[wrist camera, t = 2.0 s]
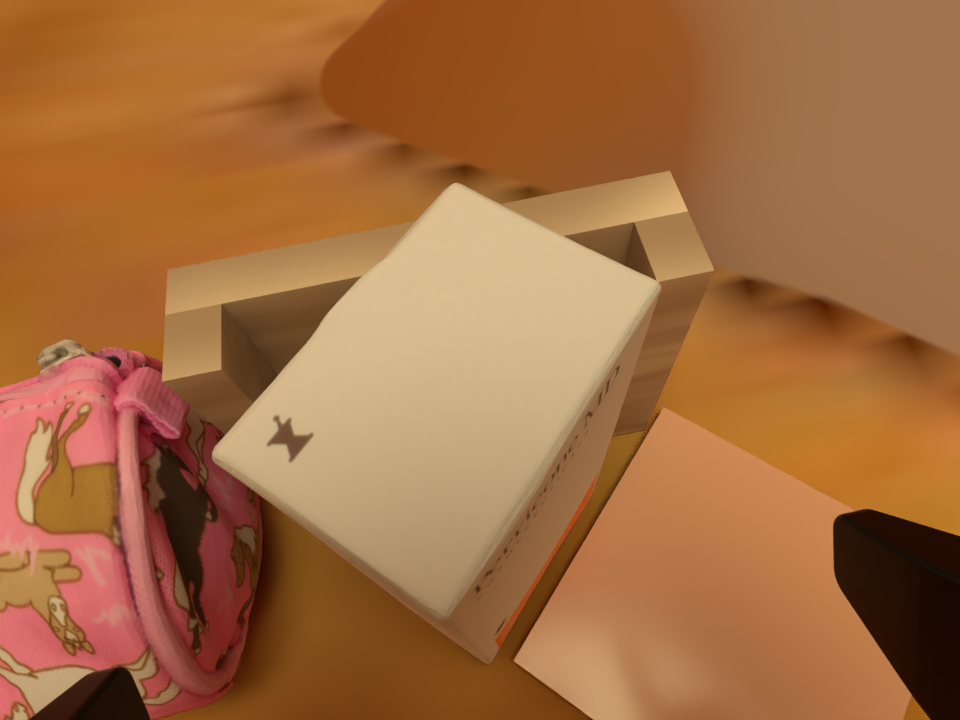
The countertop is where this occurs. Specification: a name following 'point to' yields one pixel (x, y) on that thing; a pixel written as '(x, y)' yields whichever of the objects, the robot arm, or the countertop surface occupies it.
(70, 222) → the countertop surface
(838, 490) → the countertop surface
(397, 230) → the shallow wooden tray
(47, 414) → the pencil case
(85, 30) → the countertop surface
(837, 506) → the tile
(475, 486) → the skincare box
